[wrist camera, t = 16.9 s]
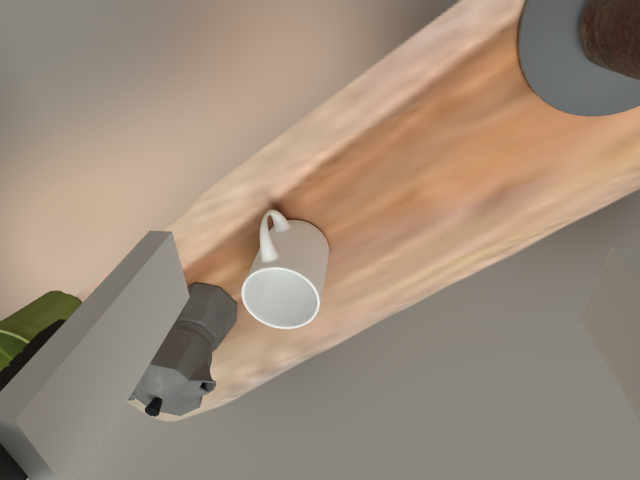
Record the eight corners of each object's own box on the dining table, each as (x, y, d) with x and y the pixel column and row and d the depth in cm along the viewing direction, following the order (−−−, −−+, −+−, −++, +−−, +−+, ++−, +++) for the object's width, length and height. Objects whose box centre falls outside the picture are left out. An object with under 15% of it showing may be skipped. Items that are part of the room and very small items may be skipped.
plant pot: (114, 307, 62) (66, 364, 52) (86, 343, 68) (38, 401, 58) (43, 263, 59) (-21, 315, 49) (20, 305, 64) (-42, 358, 55)
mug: (309, 185, 47) (293, 232, 38) (338, 266, 52) (329, 323, 43) (244, 201, 49) (214, 248, 40) (278, 277, 55) (258, 333, 46)
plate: (550, -100, 31) (555, -103, 30) (773, -99, 30) (787, -102, 29) (497, 108, 40) (500, 111, 39) (668, 117, 38) (676, 121, 37)
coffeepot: (238, 275, 55) (185, 381, 40) (259, 324, 60) (219, 437, 45) (143, 288, 59) (63, 391, 44) (171, 334, 64) (106, 441, 48)
